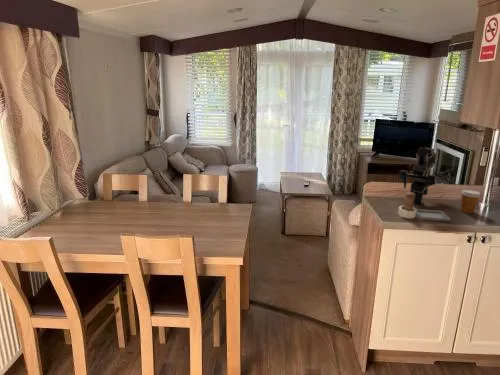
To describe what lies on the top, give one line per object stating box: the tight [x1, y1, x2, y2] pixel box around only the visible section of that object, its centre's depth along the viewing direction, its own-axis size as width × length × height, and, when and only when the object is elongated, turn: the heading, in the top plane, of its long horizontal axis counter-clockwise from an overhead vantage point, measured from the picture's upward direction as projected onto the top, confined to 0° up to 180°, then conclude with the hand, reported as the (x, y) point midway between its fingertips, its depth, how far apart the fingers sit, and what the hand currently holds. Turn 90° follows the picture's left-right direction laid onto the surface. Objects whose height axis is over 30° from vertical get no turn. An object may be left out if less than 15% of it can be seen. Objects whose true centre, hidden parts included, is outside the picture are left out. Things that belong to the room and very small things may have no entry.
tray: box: [415, 208, 451, 223], centre depth 203 cm, size 12×15×2 cm
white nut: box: [397, 205, 418, 219], centre depth 203 cm, size 8×8×4 cm
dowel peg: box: [402, 191, 415, 211], centre depth 202 cm, size 5×5×12 cm
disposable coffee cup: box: [460, 188, 481, 214], centre depth 212 cm, size 10×10×12 cm
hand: (413, 190), depth 205 cm, fingers open, 9 cm apart
